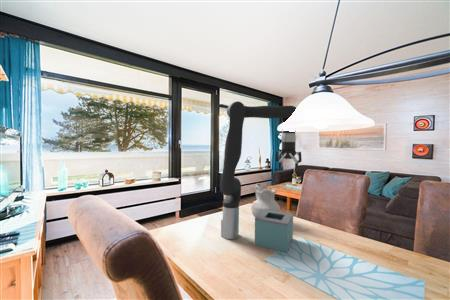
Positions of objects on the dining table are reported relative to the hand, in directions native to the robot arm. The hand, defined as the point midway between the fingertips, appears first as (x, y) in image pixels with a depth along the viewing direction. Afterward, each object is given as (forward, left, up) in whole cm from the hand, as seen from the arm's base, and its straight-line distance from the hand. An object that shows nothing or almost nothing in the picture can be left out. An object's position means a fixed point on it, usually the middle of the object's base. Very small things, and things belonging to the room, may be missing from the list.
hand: (288, 169), depth 120 cm
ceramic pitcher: (-18, +14, -38) cm, 45 cm away
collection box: (-4, -13, -38) cm, 40 cm away
